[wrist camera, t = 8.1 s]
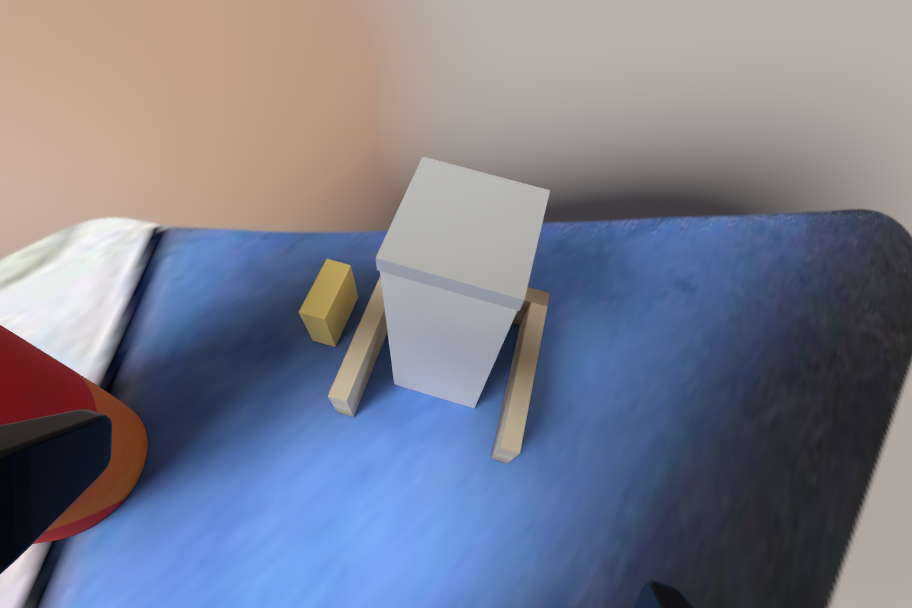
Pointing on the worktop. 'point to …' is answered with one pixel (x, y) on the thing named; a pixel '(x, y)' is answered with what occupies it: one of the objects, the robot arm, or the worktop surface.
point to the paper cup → (63, 390)
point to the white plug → (456, 276)
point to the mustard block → (329, 302)
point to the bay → (519, 383)
